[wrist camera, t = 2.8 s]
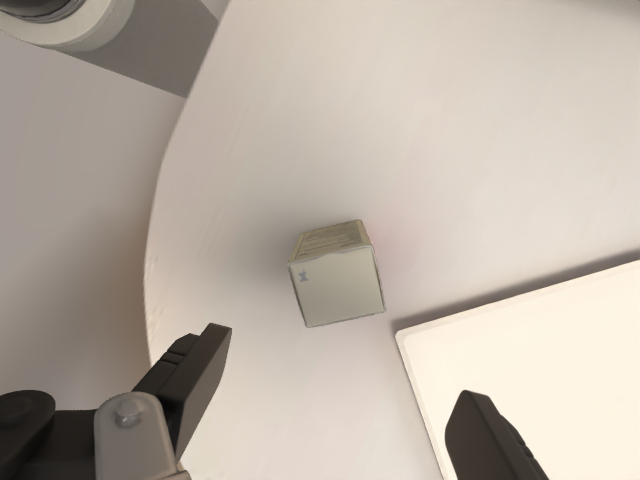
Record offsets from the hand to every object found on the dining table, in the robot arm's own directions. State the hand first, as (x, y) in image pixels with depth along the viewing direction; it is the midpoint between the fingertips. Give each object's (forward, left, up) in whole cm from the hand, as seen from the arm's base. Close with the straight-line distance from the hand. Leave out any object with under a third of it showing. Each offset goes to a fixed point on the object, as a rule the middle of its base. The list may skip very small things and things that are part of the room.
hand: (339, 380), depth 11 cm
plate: (+24, -8, -16) cm, 30 cm away
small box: (0, 0, -16) cm, 16 cm away
